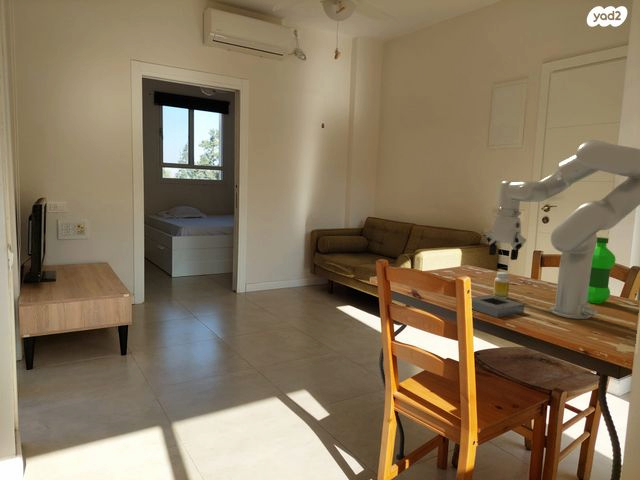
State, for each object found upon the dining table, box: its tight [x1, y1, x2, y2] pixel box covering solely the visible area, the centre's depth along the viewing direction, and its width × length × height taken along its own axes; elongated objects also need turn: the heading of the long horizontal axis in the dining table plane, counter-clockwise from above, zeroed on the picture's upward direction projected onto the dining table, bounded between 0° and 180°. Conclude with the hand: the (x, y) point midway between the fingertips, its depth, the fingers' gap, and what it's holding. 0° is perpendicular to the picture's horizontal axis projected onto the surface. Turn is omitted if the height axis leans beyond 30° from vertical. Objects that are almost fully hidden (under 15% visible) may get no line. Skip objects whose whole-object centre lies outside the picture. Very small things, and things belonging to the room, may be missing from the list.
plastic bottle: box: [587, 236, 616, 305], centre depth 179 cm, size 10×10×25 cm
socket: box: [471, 294, 526, 318], centre depth 163 cm, size 14×14×3 cm
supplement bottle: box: [492, 271, 510, 299], centre depth 181 cm, size 5×5×10 cm
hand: (502, 257), depth 180 cm, fingers open, 9 cm apart
